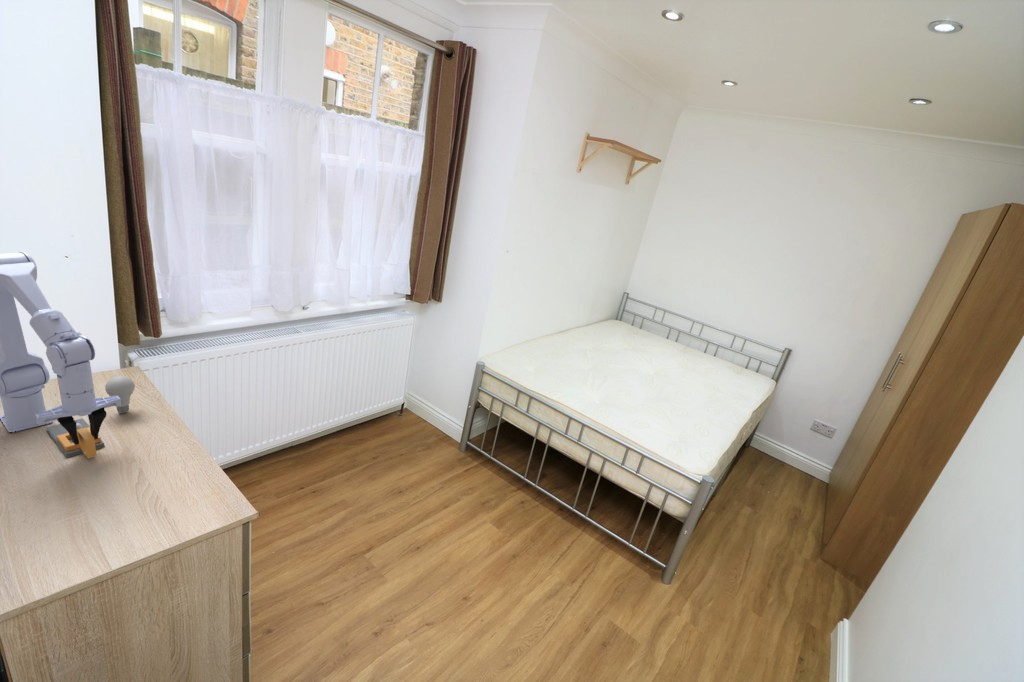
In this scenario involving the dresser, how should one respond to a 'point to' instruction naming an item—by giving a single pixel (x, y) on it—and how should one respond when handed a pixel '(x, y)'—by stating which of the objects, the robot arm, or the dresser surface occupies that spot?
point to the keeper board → (60, 430)
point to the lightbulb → (121, 391)
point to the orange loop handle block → (80, 442)
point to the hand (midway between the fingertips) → (85, 439)
